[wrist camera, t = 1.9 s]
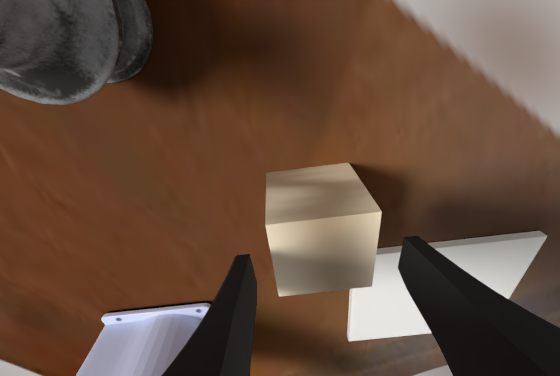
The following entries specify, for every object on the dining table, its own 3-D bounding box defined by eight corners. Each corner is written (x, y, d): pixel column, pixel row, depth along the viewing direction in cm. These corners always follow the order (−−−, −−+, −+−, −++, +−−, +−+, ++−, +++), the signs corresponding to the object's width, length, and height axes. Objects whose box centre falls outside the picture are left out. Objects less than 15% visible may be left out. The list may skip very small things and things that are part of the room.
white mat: (347, 335, 24) (348, 341, 24) (352, 251, 18) (354, 257, 18) (486, 321, 24) (490, 326, 24) (539, 230, 18) (547, 236, 17)
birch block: (276, 233, 17) (278, 296, 13) (266, 171, 15) (265, 224, 10) (346, 225, 17) (371, 286, 13) (348, 162, 14) (381, 211, 10)
